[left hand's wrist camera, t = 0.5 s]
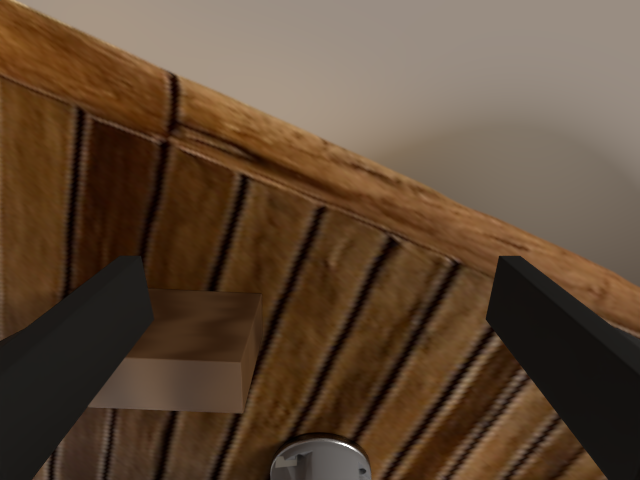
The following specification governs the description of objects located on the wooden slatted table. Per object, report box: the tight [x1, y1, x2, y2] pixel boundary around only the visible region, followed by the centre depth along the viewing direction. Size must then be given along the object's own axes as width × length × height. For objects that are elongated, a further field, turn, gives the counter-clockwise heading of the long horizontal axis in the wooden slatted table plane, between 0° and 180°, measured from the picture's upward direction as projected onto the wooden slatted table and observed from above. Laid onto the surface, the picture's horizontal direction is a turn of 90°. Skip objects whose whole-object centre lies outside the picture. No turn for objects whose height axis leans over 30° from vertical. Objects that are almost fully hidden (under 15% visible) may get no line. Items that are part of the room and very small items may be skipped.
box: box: [88, 288, 262, 413], centre depth 37 cm, size 21×6×12 cm, turn 87°
